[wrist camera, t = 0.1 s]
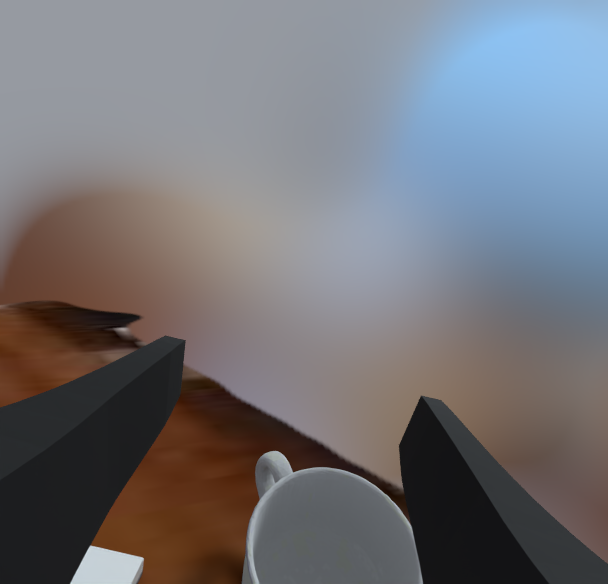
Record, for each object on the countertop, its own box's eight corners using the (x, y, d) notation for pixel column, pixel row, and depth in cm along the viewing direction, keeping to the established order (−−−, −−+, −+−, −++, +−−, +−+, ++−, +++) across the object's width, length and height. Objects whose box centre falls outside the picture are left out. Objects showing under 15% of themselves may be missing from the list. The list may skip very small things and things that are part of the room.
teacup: (422, 686, 22) (469, 604, 19) (256, 794, 17) (290, 702, 14) (320, 493, 33) (342, 425, 31) (204, 523, 28) (218, 445, 26)
